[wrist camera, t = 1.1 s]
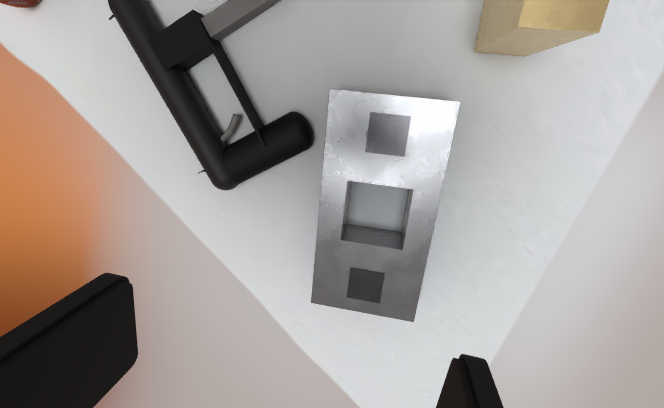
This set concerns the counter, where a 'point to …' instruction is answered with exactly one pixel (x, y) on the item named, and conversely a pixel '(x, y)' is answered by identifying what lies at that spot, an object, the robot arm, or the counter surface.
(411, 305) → the grey peg hole block
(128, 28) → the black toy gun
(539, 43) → the brass peg
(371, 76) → the counter surface
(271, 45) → the counter surface
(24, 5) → the snack package
